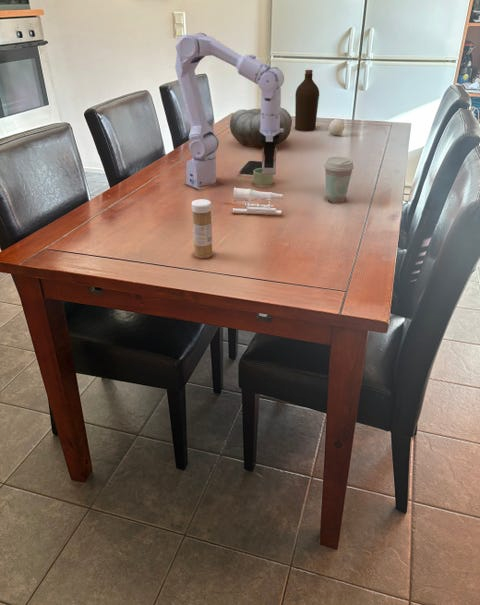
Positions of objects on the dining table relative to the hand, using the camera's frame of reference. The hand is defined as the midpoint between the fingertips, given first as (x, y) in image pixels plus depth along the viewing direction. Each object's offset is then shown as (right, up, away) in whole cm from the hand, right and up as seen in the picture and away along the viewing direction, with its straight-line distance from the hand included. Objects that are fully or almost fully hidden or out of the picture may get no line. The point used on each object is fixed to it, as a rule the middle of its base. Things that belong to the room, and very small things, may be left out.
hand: (269, 159), depth 156 cm
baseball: (+33, +33, +67) cm, 82 cm away
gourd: (-1, +22, +56) cm, 60 cm away
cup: (-1, -5, +12) cm, 13 cm away
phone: (-4, +3, +25) cm, 25 cm away
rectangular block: (0, -4, +2) cm, 4 cm away
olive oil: (+21, +36, +80) cm, 90 cm away
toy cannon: (-4, -18, -9) cm, 20 cm away
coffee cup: (+20, -12, 0) cm, 24 cm away
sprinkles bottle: (-18, -32, -33) cm, 49 cm away
